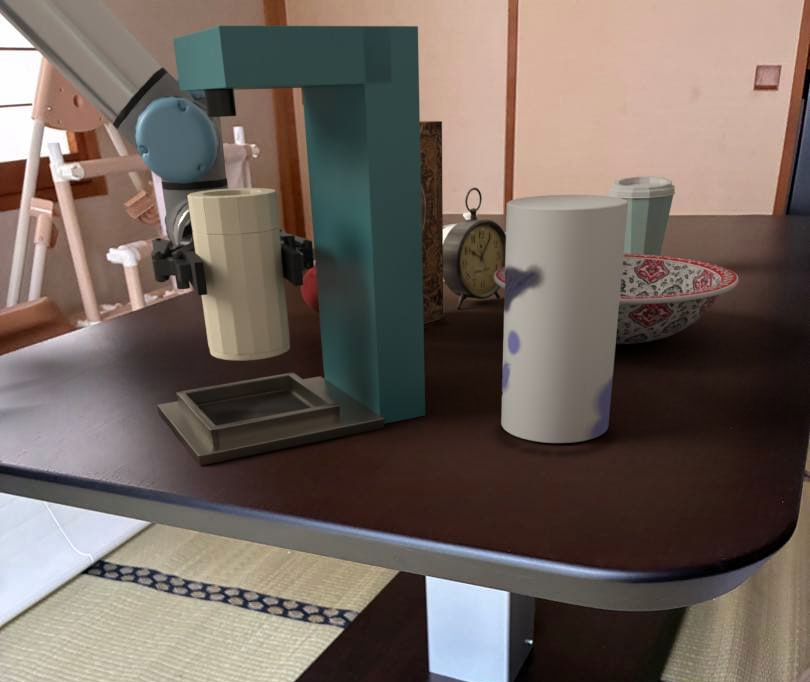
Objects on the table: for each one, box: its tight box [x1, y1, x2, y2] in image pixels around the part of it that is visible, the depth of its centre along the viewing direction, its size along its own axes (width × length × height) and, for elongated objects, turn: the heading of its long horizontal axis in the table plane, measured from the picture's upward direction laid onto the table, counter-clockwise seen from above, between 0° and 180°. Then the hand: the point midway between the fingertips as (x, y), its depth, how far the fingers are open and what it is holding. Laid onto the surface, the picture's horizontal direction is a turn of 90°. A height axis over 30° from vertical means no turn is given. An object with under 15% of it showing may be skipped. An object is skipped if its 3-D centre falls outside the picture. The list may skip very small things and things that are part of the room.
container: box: [500, 194, 628, 444], centre depth 75 cm, size 10×10×20 cm
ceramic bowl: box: [494, 254, 739, 345], centre depth 105 cm, size 29×29×8 cm
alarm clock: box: [443, 187, 506, 310], centre depth 122 cm, size 11×5×16 cm, turn 131°
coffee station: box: [157, 25, 426, 467], centre depth 76 cm, size 16×23×33 cm
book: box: [420, 120, 444, 325], centre depth 110 cm, size 16×6×25 cm, turn 137°
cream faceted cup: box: [188, 187, 291, 362], centre depth 77 cm, size 8×8×14 cm
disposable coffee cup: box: [608, 175, 676, 256], centre depth 139 cm, size 11×11×15 cm
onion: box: [300, 263, 319, 315], centre depth 121 cm, size 6×6×8 cm
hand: (250, 274), depth 73 cm, fingers closed on cream faceted cup, 8 cm apart
